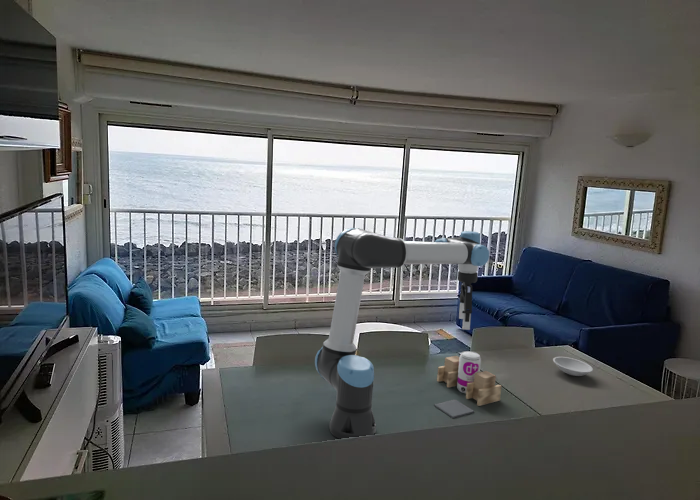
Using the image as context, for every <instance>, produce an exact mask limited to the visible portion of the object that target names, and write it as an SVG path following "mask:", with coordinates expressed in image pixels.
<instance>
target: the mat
mask: <svg viewBox="0 0 700 500" xmlns="http://www.w3.org/2000/svg"><path fill="white" fill-rule="evenodd" d="M433 406H434V407H435V408H437V409H439V410H440V411H441V412H442V413H444V414H446V416H449V417H451V419H454V418H460V417H463V416H466V415H469V414H474V413H475V411H474V410H473V409H471V408H470V407H468V406H467V405H465V404H463V402H460V401H459V400H457V399H451V400H446V401H443V402H440V403H439V402H438V403H434V404H433Z"/></svg>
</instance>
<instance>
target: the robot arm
mask: <svg viewBox="0 0 700 500" xmlns="http://www.w3.org/2000/svg"><path fill="white" fill-rule="evenodd" d="M334 251H335V253H336V255H337V260H336V261H337V262H336V267H337V268H338V269H339V276H338V277H339V278H338V282H337V288H336V295H335V300H334V301H335V302H334V306H333V310H332V311H333V312H332V317H331V323H330V329H329V336H328V338H326V339H325V341H323V343H322V347H321V348H320V349H319V350H317V353H316V355H315V357H314V366H315V369H316V372H317V373H318V374H319V376H320V377H321V378H322V379H323V380H324V381H325V382H327V383H328V384H329V385H330V386H331V387H332V388H333V389H334V390H336V397H335V398H336V399H335V407H334V410H333V413H332V415H331V418H330V419H329V420H330V421H329V432H330V433H331V435H332V436H333V437H334V438H337V439H339V440H341V439H340V438H349V437H359V436H366V435H373V434H374V433H375V434H376V430H377V428H376V427H377V425H376V420H375V417H374V412H373V394H374V393H373V391H374V380H375V371H374V370H375V367H374V365H373V363H372V362H371V361H370V360H369V359H368V358H366V357H364V356H360V355H356V353H357V346H356V344H355V343H354V338H355V334H356V328H357V323H358V317H359V311H360V306H361V305H360V304H361V299H362V294H363V289H364V283H365V277H366V275H367V274H369V273H370V272H371V269H388V268H392V269H395V268H401V267H403V266H404V265H457V270H458V271H457V281H458V282H461V285H460V293H459V309H458V310H459V311H458V312H459V313H458V319H459V320H460V319H461V320H462V327H461V328H462V330H468V331H470V330H471V320H472V319H471V318H472V313H473V285H472V284H475V283H477V281H478V275H479V273H478V270H479V267H483V266H485V265H486V264H487V263H488V262H489V259H490V250H489V248H488V247H487V246H486V245H483V244H481V234H480V232H477V231H471V230H470V231H469V230H463V231H461V232H460V234H459V237H442V238H437V239H436V240H434V241H409V240H404V239H402V238H400V237H391V236H386V235H384V234H381V233H380V234H379V233H377V232H373V231H369V230H365V229H362V228H360V227H359V228H357V227H350V228H346V229H344V230H343V231H342V232H340V233H339V234H338V235H337V237H336V239H335V242H334ZM375 434H374V435H375Z"/></svg>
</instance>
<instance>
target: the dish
mask: <svg viewBox="0 0 700 500" xmlns="http://www.w3.org/2000/svg"><path fill="white" fill-rule="evenodd" d="M552 361H553V363H554V364H555V366H557V368H559V370H560V371H561V372H563V373H566V374H567V375H569V376H574V377H575V376H576V377H581V376H585V375H588V374H589V373H592V372H594V371H593V370H594V369H593V367H592V366H591V365H590V364H588V363H587V362H585V361H582V360H579V359H576V358H572V357H568V356H555V357H553V358H552Z"/></svg>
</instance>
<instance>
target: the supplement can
mask: <svg viewBox="0 0 700 500" xmlns="http://www.w3.org/2000/svg"><path fill="white" fill-rule="evenodd" d="M459 357H460V358H459V369H458V380H457V386H456V388H457V390H458V391H459V392H461V393H462V394H465V395H466V390H467V383H471V382H474V376H475V373H479V372H481V364H482V357H481V355H480V354H479V353H477V352H476V351H471V350H470V351H469V350H467V351H466V350H465V351H462V352H461V354H460V356H459Z"/></svg>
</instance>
